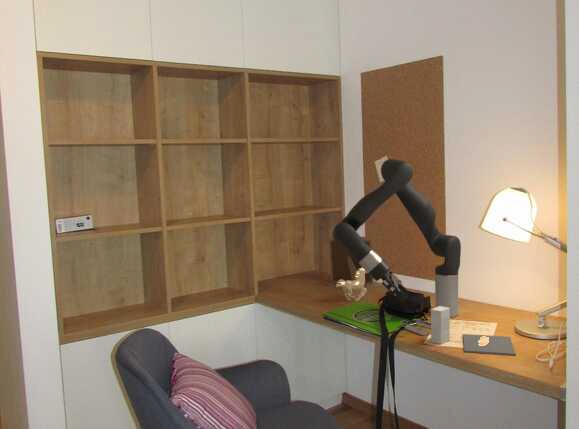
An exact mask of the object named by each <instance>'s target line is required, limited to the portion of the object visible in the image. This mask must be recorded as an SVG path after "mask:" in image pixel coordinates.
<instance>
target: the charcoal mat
mask: <svg viewBox="0 0 579 429" xmlns="http://www.w3.org/2000/svg"><path fill="white" fill-rule="evenodd" d="M462 336H463V338H462V340H463V339H464V340H463V352H464V353H469V354H470V353H472V354H487V355H501V356H502V355H503V356H516V350H515V349H514V345H513V342H512V339H511V336H505V335H503V336H502V335H490V334H489V335H487V334H486V335H483V334H471V333H469V334H468V333H462ZM482 336H486V337H489V343H488V344H487V345H485V346H479V345H478V344H479V343H478V340H480V337H482Z"/></svg>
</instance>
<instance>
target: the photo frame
mask: <svg viewBox="0 0 579 429" xmlns="http://www.w3.org/2000/svg"><path fill="white" fill-rule="evenodd" d="M360 237H361V238H362V240H363V241H364V242H365V243H366V244H367V245H368V246H369V247H370V248H371V249H372V250H373V236H360ZM328 246H329V248H328V249H329V262H330V264H329V265H330V277H331V278H330V279H331V283H334V284H338V283H337V282H338V281H339V280H341V279H342V280H345V281H347V280H350V281H355V280H356V279H355V278H356V277H354V276H356V275H355V274H356V272H357V271H358V269H360V268H361V267H362V266H361V265H360V264H359V263H358V262H357V261H356V260H355V259H354V258H353V257H352V256H351V254H350V252H349V250H348V249H347V248H346V247H345V246H344V245H343V244H340V243H337V242H336V241H335V240H334V239H333V237H332V235H331V236H329V238H328ZM374 281H375V280H374V279H373V278H372V277H371V276H370V275H369V274H368V273H365V284H367V285H373V283H374ZM365 284H364V285H365Z"/></svg>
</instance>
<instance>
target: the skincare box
mask: <svg viewBox="0 0 579 429" xmlns="http://www.w3.org/2000/svg"><path fill="white" fill-rule="evenodd" d="M450 318H451V317H450V308H447V307H443V306H438V307H436V308H435V307H434V308H431V309H430V323H431V328H430V332H431V334H430V339H431V340H430V342H431V343H434V344H438V345H443V344H444V343H446V342H449V341H450V338H451V335H450V334H451V333H450V331H451V330H450V328H451V322H450V320H451V319H450ZM448 340H449V341H448Z"/></svg>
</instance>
